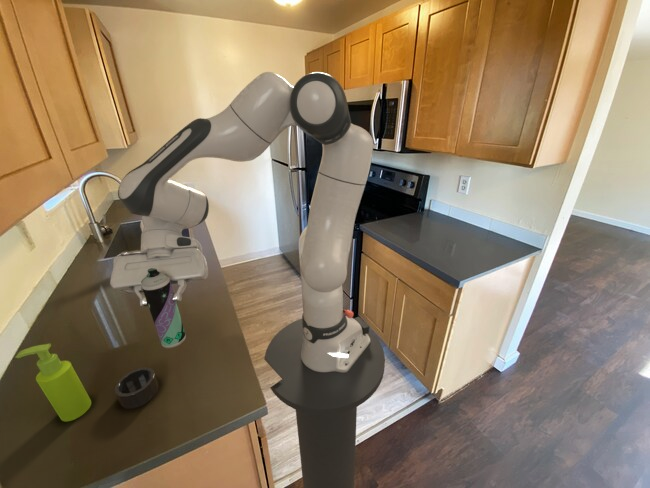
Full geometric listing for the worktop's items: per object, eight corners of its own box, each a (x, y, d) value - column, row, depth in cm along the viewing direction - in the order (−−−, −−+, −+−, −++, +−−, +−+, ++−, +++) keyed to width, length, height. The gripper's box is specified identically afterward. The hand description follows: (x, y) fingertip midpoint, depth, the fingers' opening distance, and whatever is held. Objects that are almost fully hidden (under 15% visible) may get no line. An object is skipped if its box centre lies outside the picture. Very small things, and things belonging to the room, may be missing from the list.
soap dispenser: (61, 404, 68) (23, 343, 60) (95, 395, 70) (63, 334, 62) (50, 427, 63) (7, 363, 55) (86, 416, 65) (50, 353, 57)
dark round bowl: (154, 374, 76) (149, 362, 74) (162, 394, 70) (157, 381, 69) (118, 392, 71) (112, 380, 69) (123, 416, 65) (117, 403, 63)
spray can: (157, 348, 66) (131, 276, 58) (168, 332, 71) (146, 263, 63) (180, 347, 66) (157, 275, 58) (189, 331, 71) (170, 263, 63)
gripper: (106, 248, 63) (101, 309, 58) (202, 238, 67) (204, 293, 62) (121, 257, 68) (117, 313, 64) (208, 247, 73) (210, 299, 68)
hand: (161, 303), depth 63 cm, fingers closed on spray can, 5 cm apart
